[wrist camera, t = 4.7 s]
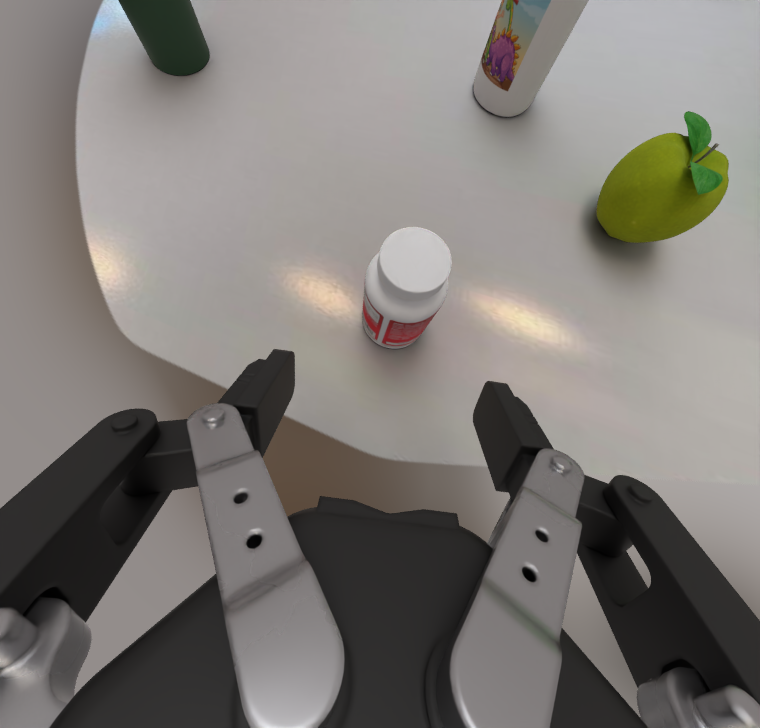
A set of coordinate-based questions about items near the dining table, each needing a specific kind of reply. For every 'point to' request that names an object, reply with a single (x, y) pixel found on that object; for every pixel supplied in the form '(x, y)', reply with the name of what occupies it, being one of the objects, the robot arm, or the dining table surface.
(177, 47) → the bottle
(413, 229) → the pill bottle
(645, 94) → the dining table surface
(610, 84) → the dining table surface
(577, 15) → the milk bottle
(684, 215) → the fruit
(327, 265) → the dining table surface
